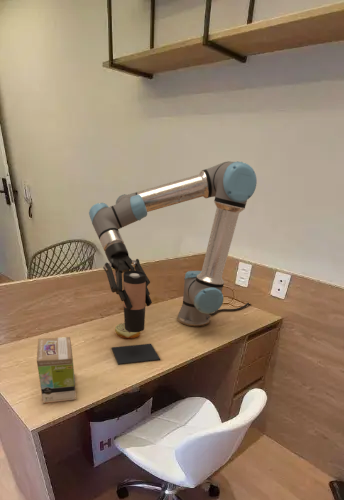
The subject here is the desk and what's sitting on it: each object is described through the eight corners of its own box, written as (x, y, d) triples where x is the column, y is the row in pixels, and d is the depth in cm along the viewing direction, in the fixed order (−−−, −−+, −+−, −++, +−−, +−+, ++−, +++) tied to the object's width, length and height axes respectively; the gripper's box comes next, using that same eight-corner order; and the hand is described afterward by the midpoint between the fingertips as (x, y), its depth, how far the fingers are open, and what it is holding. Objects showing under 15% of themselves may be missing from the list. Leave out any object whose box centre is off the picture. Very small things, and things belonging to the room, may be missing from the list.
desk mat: (150, 344, 138) (150, 343, 138) (160, 360, 128) (160, 358, 128) (111, 348, 133) (111, 347, 133) (118, 365, 123) (118, 363, 123)
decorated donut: (129, 342, 139) (129, 333, 137) (110, 334, 144) (109, 326, 142) (145, 334, 146) (145, 326, 144) (126, 327, 151) (126, 319, 149)
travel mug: (133, 322, 129) (133, 269, 118) (149, 328, 125) (150, 273, 114) (119, 328, 124) (118, 273, 113) (135, 334, 120) (135, 278, 109)
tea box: (77, 400, 104) (72, 357, 96) (42, 404, 101) (34, 361, 93) (74, 374, 116) (70, 335, 108) (43, 377, 113) (36, 337, 105)
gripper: (134, 251, 127) (158, 306, 126) (84, 256, 116) (110, 317, 115) (142, 239, 121) (168, 296, 120) (91, 243, 110) (118, 307, 108)
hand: (140, 306), depth 117 cm, fingers closed on travel mug, 7 cm apart
